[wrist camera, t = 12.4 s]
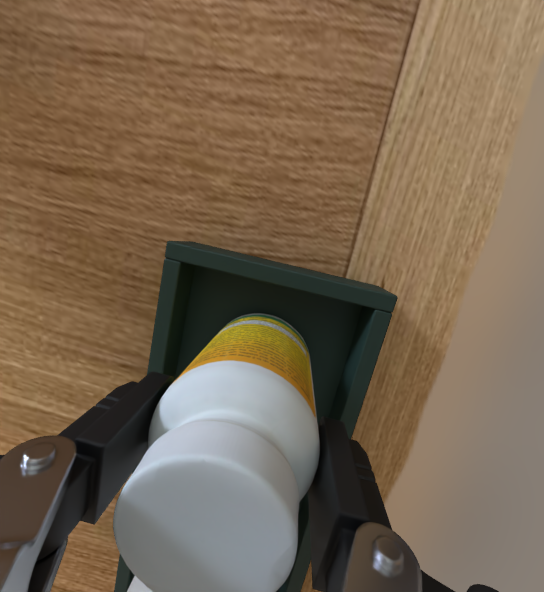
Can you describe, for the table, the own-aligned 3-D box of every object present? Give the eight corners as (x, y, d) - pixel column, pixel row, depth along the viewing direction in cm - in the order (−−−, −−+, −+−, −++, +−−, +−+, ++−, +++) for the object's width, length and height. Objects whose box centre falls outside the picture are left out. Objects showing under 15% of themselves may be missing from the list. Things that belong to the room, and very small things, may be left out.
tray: (191, 241, 15) (166, 240, 12) (378, 286, 15) (399, 296, 12) (136, 564, 20) (109, 618, 17) (278, 605, 20) (275, 668, 17)
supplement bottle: (314, 399, 15) (342, 645, 6) (220, 405, 16) (111, 638, 7) (304, 305, 14) (319, 421, 5) (205, 315, 15) (52, 435, 6)
